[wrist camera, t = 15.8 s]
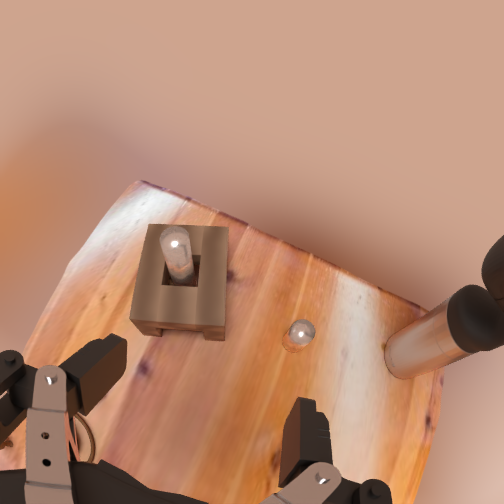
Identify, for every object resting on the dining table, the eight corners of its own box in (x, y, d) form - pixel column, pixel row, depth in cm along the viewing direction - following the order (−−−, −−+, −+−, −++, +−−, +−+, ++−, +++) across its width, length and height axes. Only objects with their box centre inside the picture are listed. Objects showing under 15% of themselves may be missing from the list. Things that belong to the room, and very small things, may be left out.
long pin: (198, 284, 47) (190, 226, 34) (197, 304, 45) (187, 251, 32) (178, 283, 47) (162, 225, 34) (175, 302, 45) (157, 250, 32)
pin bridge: (227, 254, 51) (228, 227, 44) (224, 341, 43) (224, 325, 36) (157, 250, 50) (148, 223, 43) (143, 335, 41) (129, 318, 35)
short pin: (303, 331, 45) (314, 319, 40) (304, 352, 43) (316, 342, 38) (282, 331, 44) (290, 319, 39) (282, 352, 42) (291, 343, 37)
